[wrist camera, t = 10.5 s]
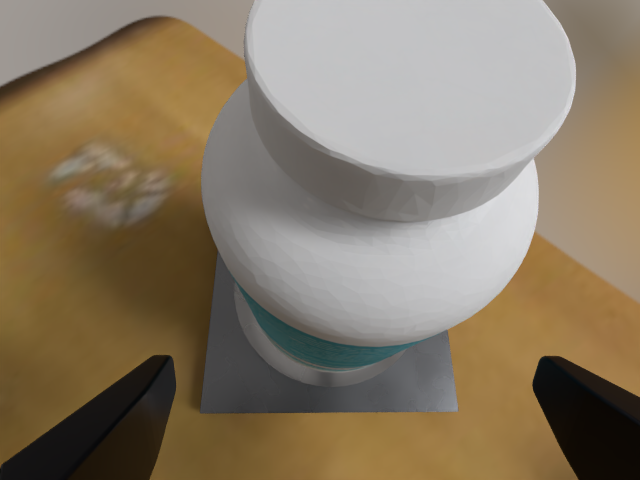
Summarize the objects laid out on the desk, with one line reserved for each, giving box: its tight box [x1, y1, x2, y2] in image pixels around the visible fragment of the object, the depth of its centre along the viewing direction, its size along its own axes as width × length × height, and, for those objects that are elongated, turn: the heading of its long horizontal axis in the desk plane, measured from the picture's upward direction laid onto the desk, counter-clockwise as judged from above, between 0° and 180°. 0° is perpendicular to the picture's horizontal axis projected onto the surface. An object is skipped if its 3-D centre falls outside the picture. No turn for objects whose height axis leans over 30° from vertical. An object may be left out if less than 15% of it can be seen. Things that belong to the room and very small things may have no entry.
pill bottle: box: [201, 0, 576, 373], centre depth 11 cm, size 8×7×14 cm
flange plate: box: [200, 251, 458, 413], centre depth 18 cm, size 11×11×1 cm
